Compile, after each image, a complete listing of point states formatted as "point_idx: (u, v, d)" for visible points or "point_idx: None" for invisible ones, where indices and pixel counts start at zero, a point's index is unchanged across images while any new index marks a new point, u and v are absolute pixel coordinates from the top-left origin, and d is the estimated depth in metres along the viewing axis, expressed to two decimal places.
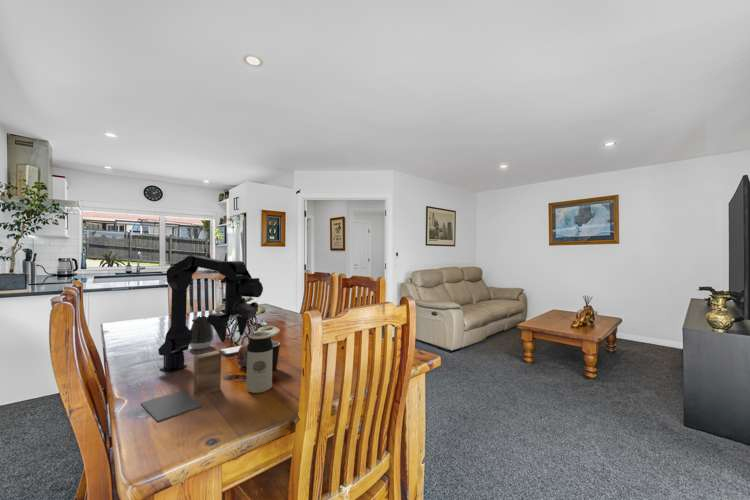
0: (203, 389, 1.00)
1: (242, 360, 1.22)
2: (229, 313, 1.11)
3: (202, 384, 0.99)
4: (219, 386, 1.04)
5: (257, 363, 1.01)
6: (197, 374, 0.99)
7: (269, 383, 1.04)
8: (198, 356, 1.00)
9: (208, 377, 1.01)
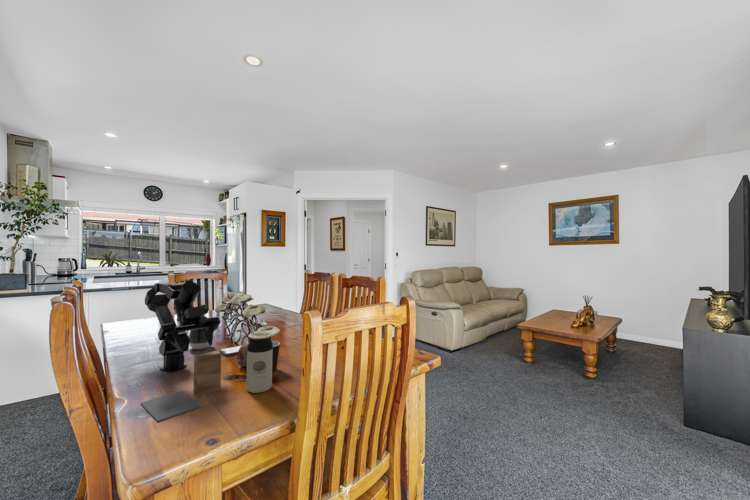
0: (203, 389, 1.00)
1: (242, 360, 1.22)
2: (181, 324, 1.09)
3: (202, 384, 0.99)
4: (219, 386, 1.04)
5: (257, 363, 1.01)
6: (197, 374, 0.99)
7: (269, 383, 1.04)
8: (198, 356, 1.00)
9: (208, 377, 1.01)
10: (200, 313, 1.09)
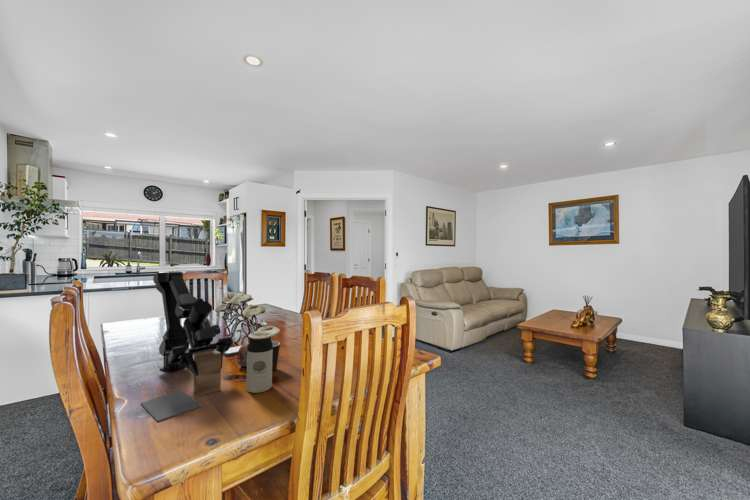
0: (203, 389, 1.00)
1: (242, 360, 1.22)
2: (192, 347, 1.03)
3: (202, 384, 0.99)
4: (219, 386, 1.04)
5: (257, 363, 1.01)
6: None
7: (269, 383, 1.04)
8: (198, 356, 1.00)
9: (208, 377, 1.01)
10: (212, 334, 1.03)
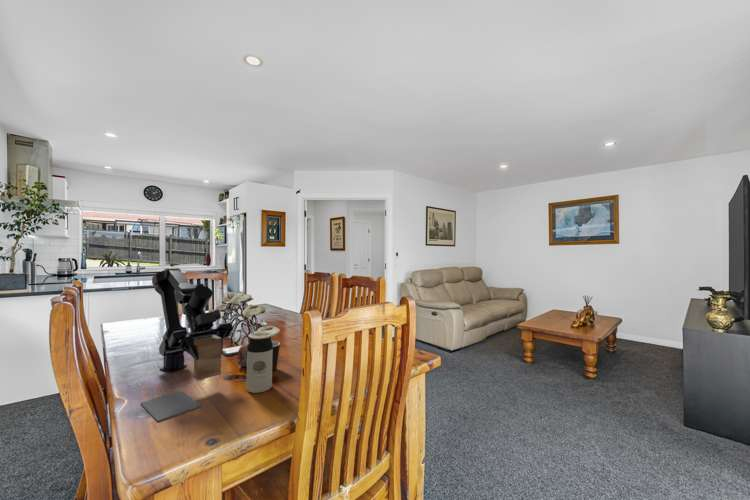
0: (203, 373, 1.00)
1: (242, 360, 1.22)
2: (193, 331, 1.03)
3: (202, 368, 0.99)
4: (219, 371, 1.04)
5: (257, 363, 1.01)
6: None
7: (269, 383, 1.04)
8: (198, 340, 1.00)
9: (208, 361, 1.01)
10: (213, 319, 1.03)
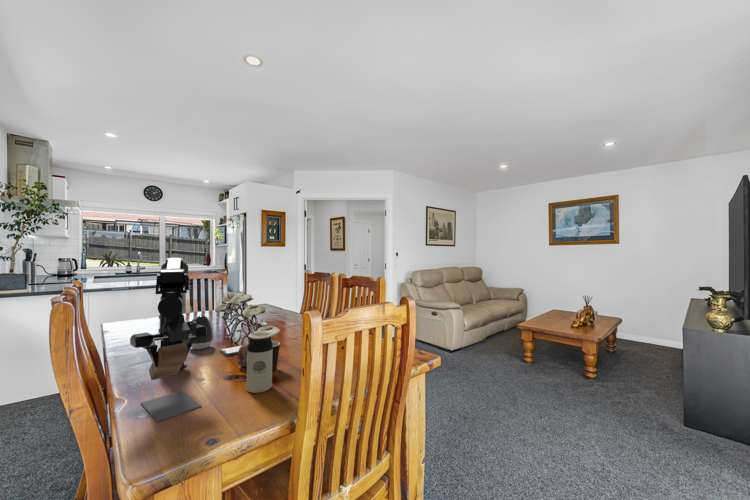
0: (159, 375, 0.94)
1: (242, 360, 1.22)
2: (161, 333, 0.92)
3: (159, 373, 0.93)
4: (177, 372, 0.99)
5: (257, 363, 1.01)
6: None
7: (269, 383, 1.04)
8: (163, 351, 0.90)
9: (167, 368, 0.94)
10: (185, 338, 0.90)
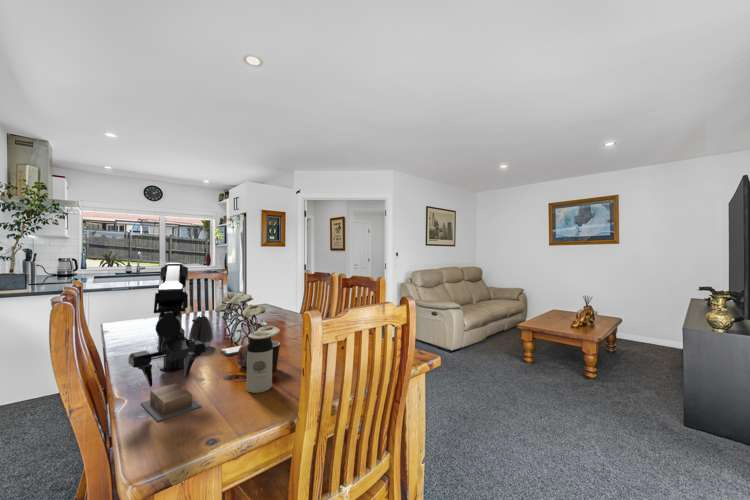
0: None
1: (242, 360, 1.22)
2: (159, 352, 0.91)
3: None
4: None
5: (257, 363, 1.01)
6: (157, 406, 0.89)
7: (269, 383, 1.04)
8: (167, 407, 0.87)
9: None
10: (183, 357, 0.90)
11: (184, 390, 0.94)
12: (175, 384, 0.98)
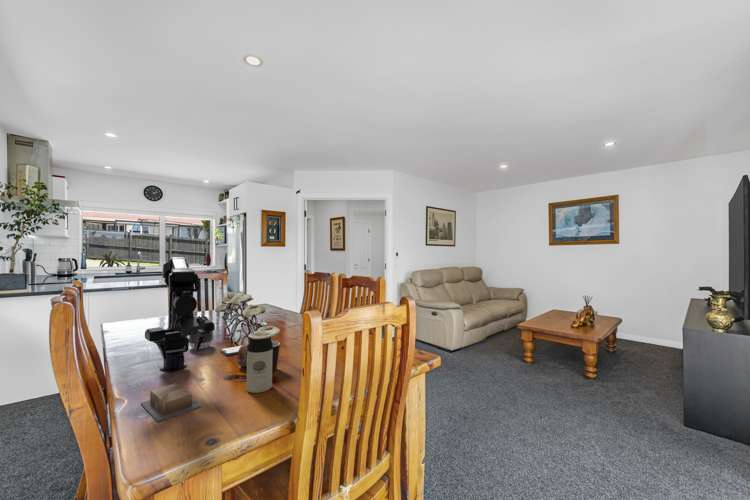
0: None
1: (242, 360, 1.22)
2: (172, 328, 0.99)
3: None
4: None
5: (257, 363, 1.01)
6: (157, 406, 0.89)
7: (269, 383, 1.04)
8: (167, 407, 0.87)
9: None
10: (194, 333, 0.98)
11: (184, 390, 0.94)
12: (175, 384, 0.98)
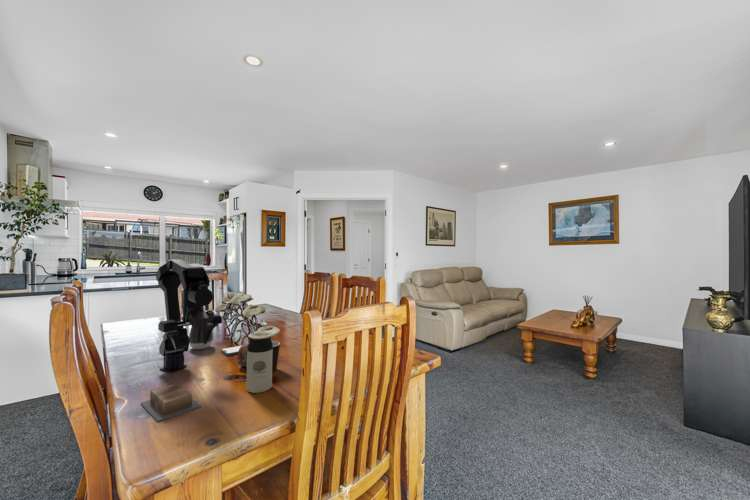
0: None
1: (242, 360, 1.22)
2: (184, 321, 1.07)
3: None
4: None
5: (257, 363, 1.01)
6: (157, 406, 0.89)
7: (269, 383, 1.04)
8: (167, 407, 0.87)
9: None
10: (204, 324, 1.06)
11: (184, 390, 0.94)
12: (175, 384, 0.98)
